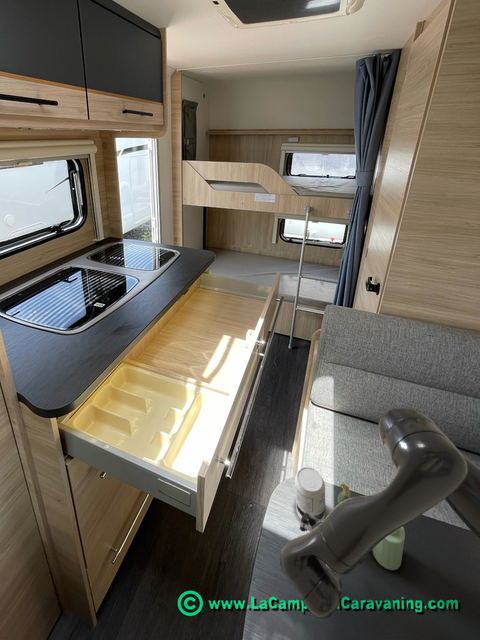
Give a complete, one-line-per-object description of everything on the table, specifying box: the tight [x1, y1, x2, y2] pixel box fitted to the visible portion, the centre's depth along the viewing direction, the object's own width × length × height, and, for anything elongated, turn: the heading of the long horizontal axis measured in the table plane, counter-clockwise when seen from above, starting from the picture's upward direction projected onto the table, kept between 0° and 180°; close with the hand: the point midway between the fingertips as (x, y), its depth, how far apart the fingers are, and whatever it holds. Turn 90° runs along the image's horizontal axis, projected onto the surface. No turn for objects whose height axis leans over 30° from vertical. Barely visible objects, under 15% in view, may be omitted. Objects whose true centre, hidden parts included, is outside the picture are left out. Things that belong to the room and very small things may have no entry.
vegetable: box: [337, 482, 354, 505], centre depth 89 cm, size 4×4×20 cm
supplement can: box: [294, 466, 326, 521], centre depth 96 cm, size 8×8×15 cm
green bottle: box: [371, 526, 406, 571], centre depth 84 cm, size 7×7×16 cm
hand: (336, 528), depth 83 cm, fingers open, 8 cm apart
